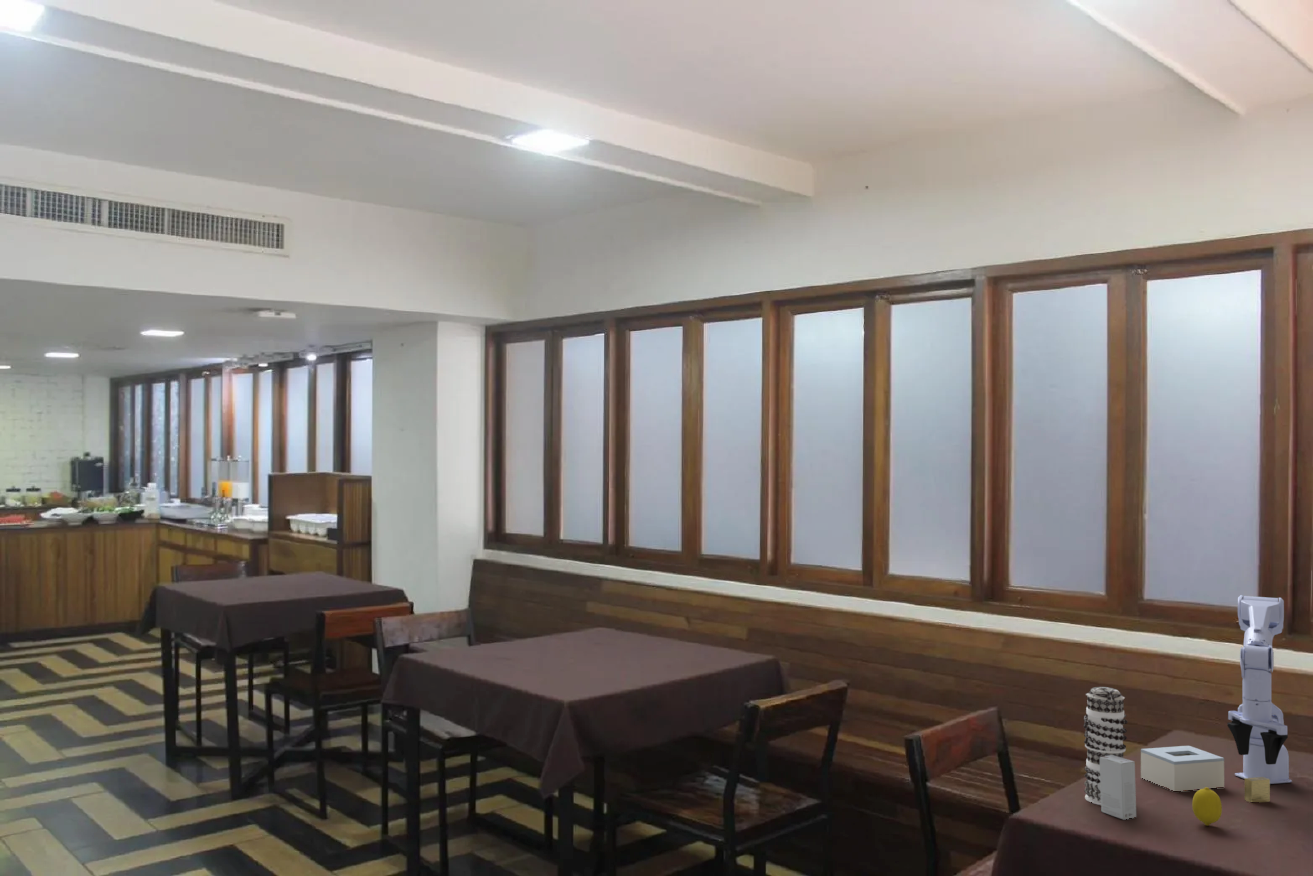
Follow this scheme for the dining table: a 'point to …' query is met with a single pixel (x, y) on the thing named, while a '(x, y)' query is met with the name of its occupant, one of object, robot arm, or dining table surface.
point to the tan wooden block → (1257, 789)
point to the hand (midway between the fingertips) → (1257, 759)
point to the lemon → (1207, 806)
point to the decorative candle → (1102, 735)
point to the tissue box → (1182, 768)
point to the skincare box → (1118, 787)
